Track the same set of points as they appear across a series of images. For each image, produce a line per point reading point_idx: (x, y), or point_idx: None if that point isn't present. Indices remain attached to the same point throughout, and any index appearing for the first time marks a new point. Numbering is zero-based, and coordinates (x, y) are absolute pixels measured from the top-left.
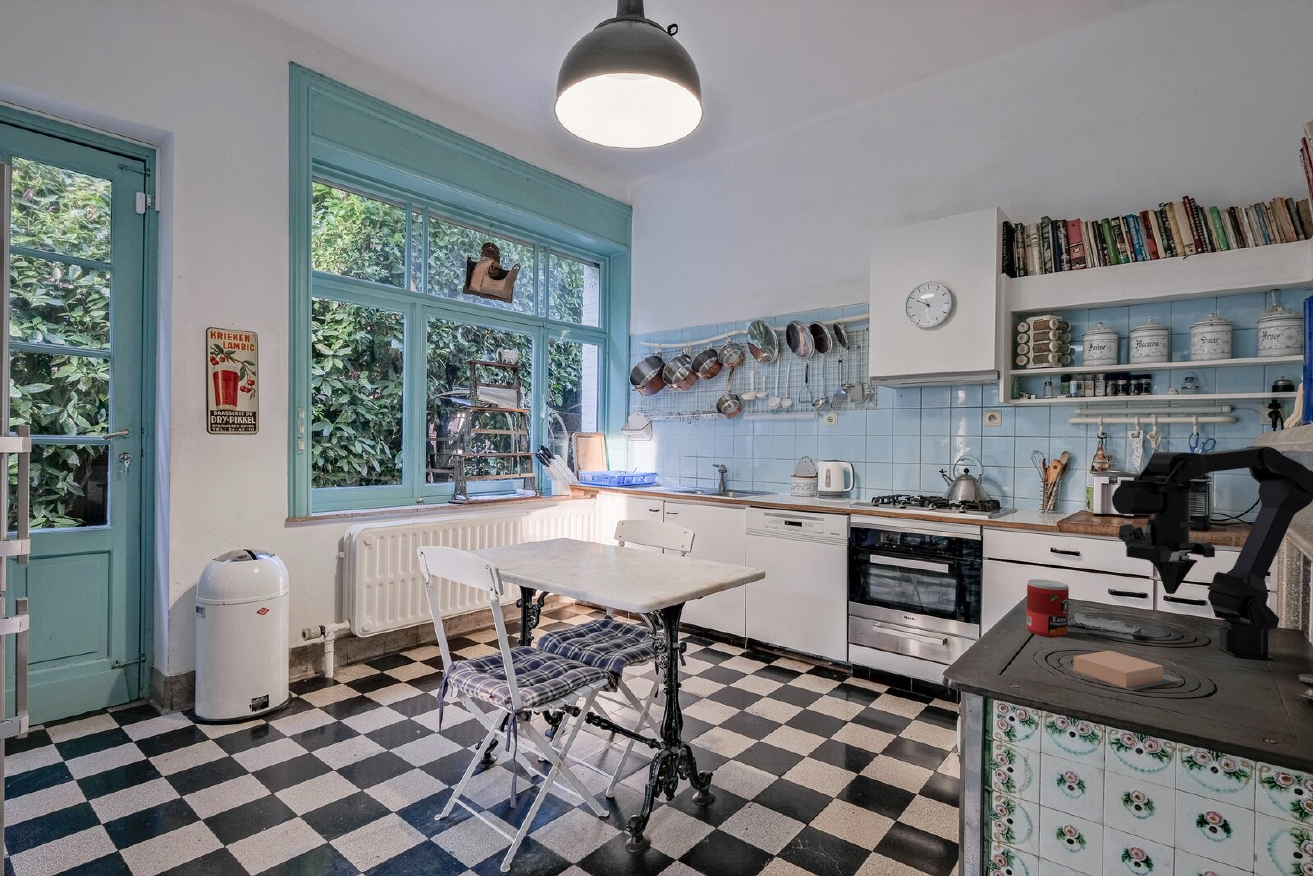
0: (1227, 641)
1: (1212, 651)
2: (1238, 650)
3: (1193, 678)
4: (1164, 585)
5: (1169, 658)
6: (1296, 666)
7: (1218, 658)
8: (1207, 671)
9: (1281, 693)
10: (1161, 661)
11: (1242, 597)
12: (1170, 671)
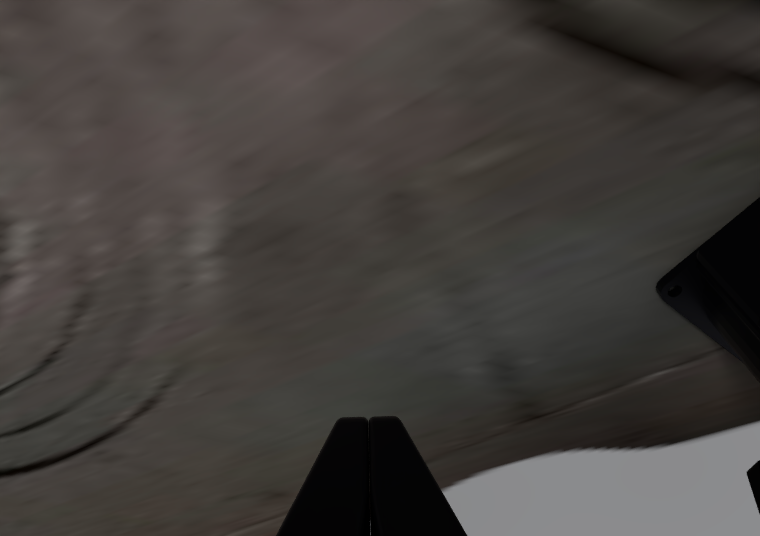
0: (723, 285)
1: (693, 182)
2: (713, 295)
3: (87, 381)
4: (294, 513)
5: (279, 180)
6: (728, 417)
7: (553, 263)
8: (255, 351)
9: (267, 524)
10: (171, 199)
11: None
12: (63, 304)
